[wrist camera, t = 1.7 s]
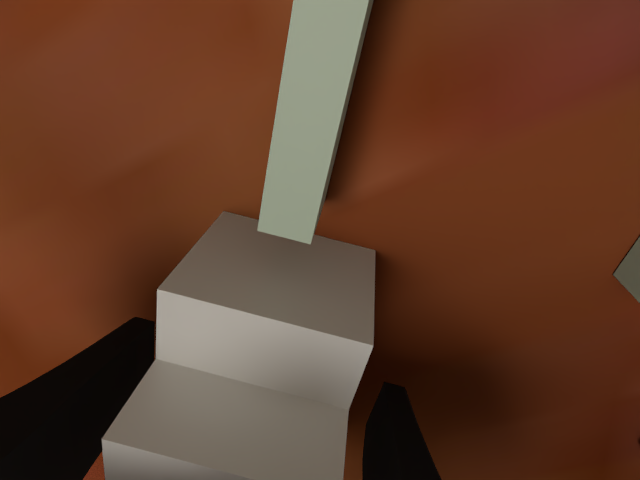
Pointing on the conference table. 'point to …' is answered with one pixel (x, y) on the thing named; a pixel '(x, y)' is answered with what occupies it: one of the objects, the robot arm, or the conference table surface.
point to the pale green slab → (327, 121)
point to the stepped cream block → (250, 361)
